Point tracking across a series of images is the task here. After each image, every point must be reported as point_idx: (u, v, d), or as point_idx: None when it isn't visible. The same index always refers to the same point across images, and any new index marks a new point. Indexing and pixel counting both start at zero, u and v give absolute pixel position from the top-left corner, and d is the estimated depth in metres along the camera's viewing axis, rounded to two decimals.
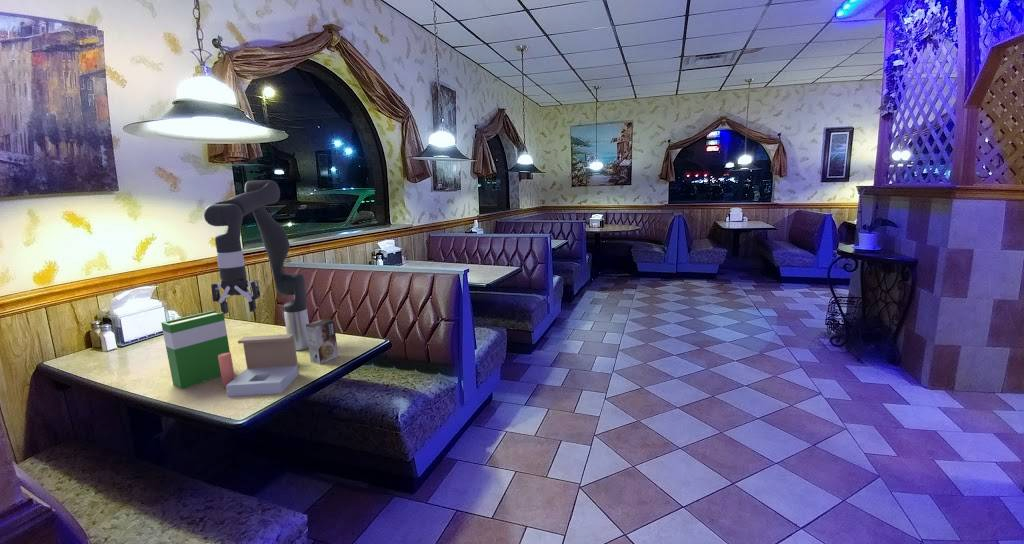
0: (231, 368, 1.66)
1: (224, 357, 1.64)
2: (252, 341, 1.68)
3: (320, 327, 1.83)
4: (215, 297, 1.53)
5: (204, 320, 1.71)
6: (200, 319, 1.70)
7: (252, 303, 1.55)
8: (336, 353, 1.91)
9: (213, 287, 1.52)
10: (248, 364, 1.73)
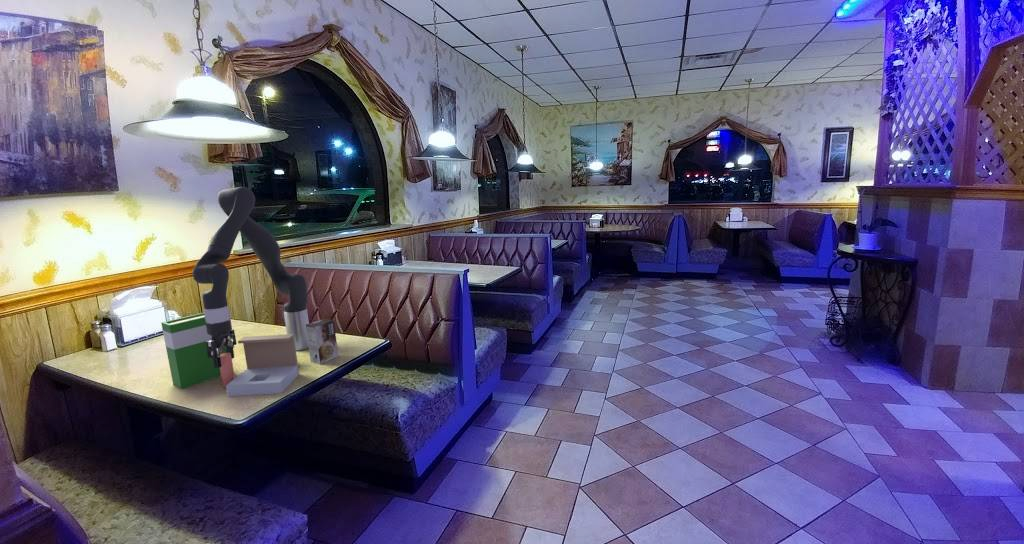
0: (231, 368, 1.66)
1: (224, 357, 1.64)
2: (252, 341, 1.68)
3: (320, 327, 1.83)
4: (215, 353, 1.59)
5: (204, 320, 1.71)
6: (200, 319, 1.70)
7: (232, 350, 1.70)
8: (336, 353, 1.91)
9: (214, 343, 1.58)
10: (248, 364, 1.73)
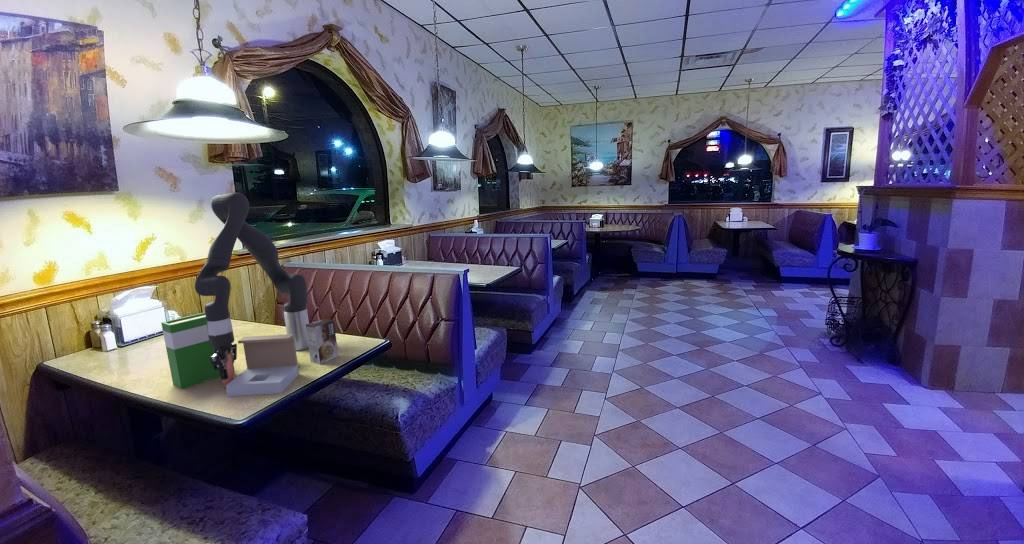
0: (231, 368, 1.66)
1: None
2: (252, 341, 1.68)
3: (320, 327, 1.83)
4: (221, 365, 1.61)
5: (204, 320, 1.71)
6: (200, 319, 1.70)
7: (233, 365, 1.69)
8: (336, 353, 1.91)
9: (218, 358, 1.59)
10: (248, 364, 1.73)
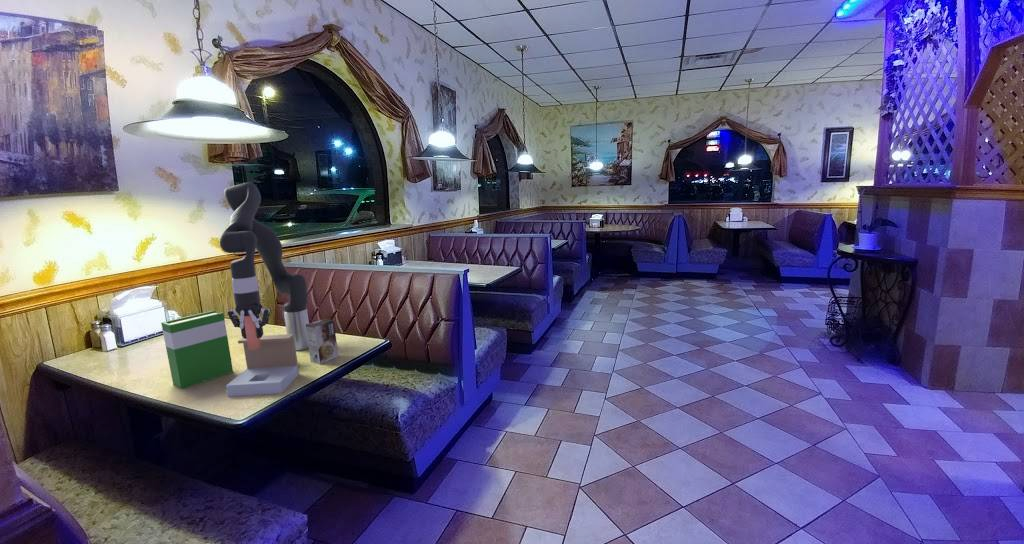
0: None
1: None
2: None
3: (320, 327, 1.83)
4: None
5: (204, 320, 1.71)
6: (200, 319, 1.70)
7: None
8: (336, 353, 1.91)
9: None
10: (248, 364, 1.73)
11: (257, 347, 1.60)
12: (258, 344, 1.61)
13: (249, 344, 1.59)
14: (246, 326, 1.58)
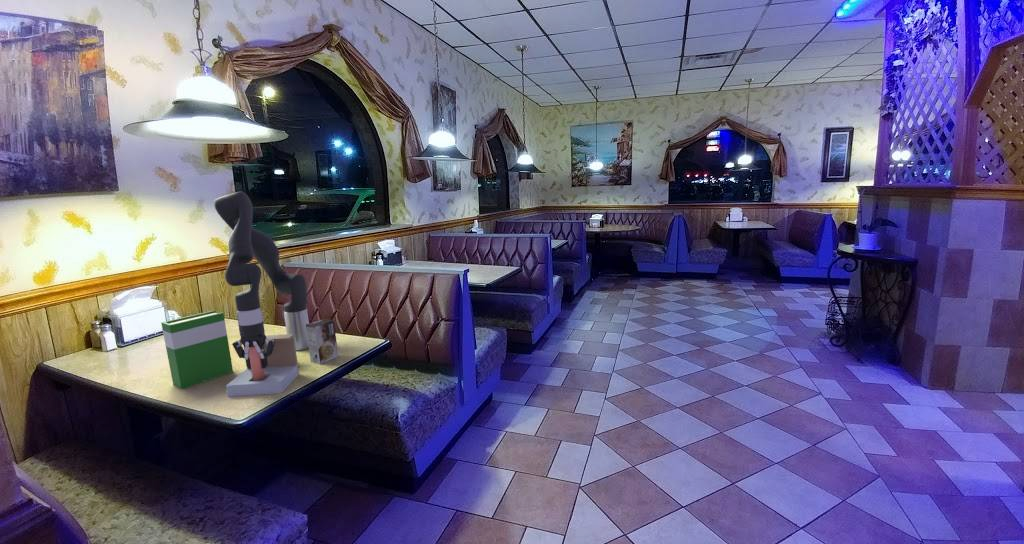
0: None
1: None
2: None
3: (320, 327, 1.83)
4: None
5: (204, 320, 1.71)
6: (200, 319, 1.70)
7: None
8: (336, 353, 1.91)
9: None
10: None
11: (261, 377, 1.62)
12: (262, 374, 1.63)
13: (254, 374, 1.61)
14: (251, 357, 1.60)
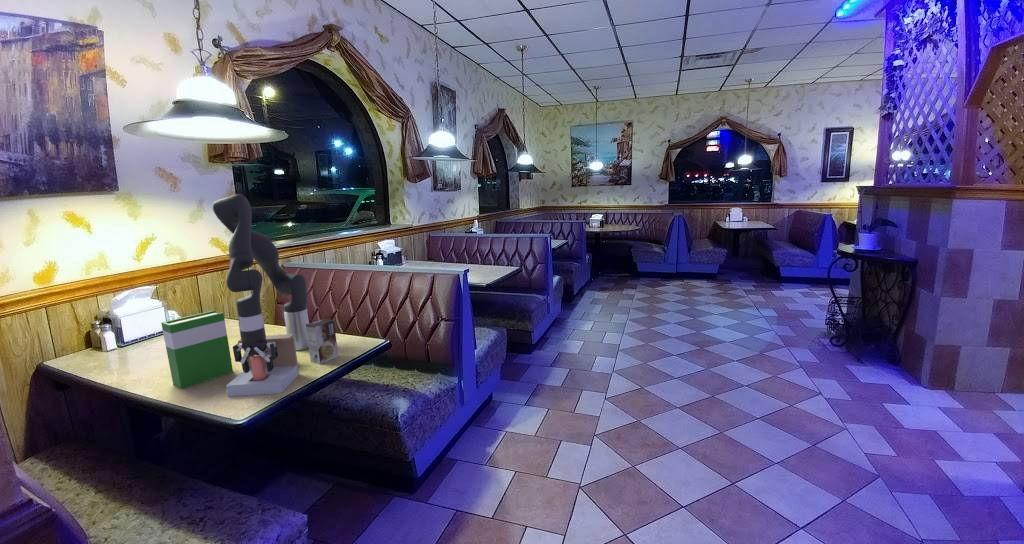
0: None
1: None
2: None
3: (320, 327, 1.83)
4: None
5: (204, 320, 1.71)
6: (200, 319, 1.70)
7: None
8: (336, 353, 1.91)
9: None
10: None
11: None
12: None
13: None
14: (253, 368, 1.61)
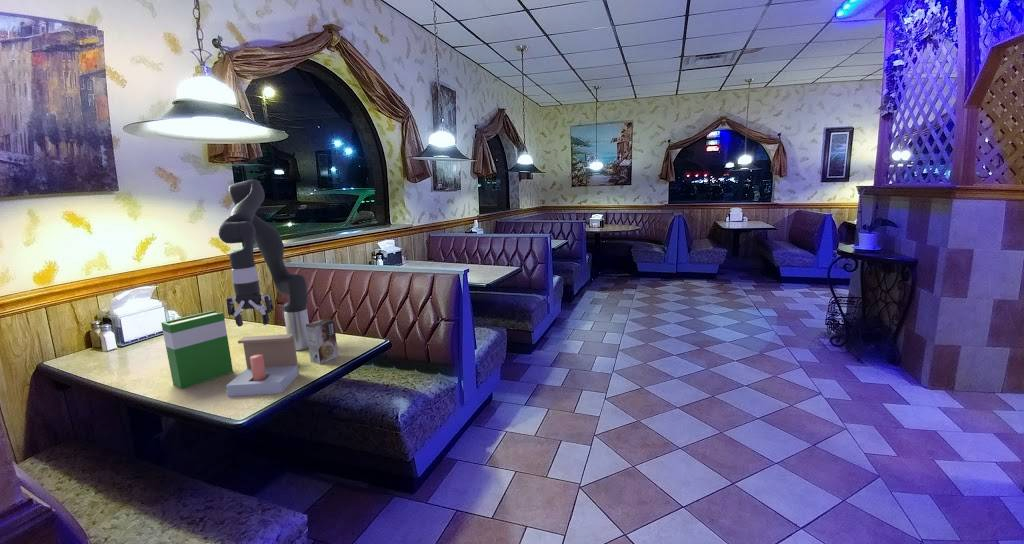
0: None
1: (262, 356, 1.63)
2: (252, 341, 1.68)
3: (320, 327, 1.83)
4: None
5: (204, 320, 1.71)
6: (200, 319, 1.70)
7: None
8: (336, 353, 1.91)
9: None
10: (248, 364, 1.73)
11: None
12: None
13: None
14: (253, 368, 1.61)
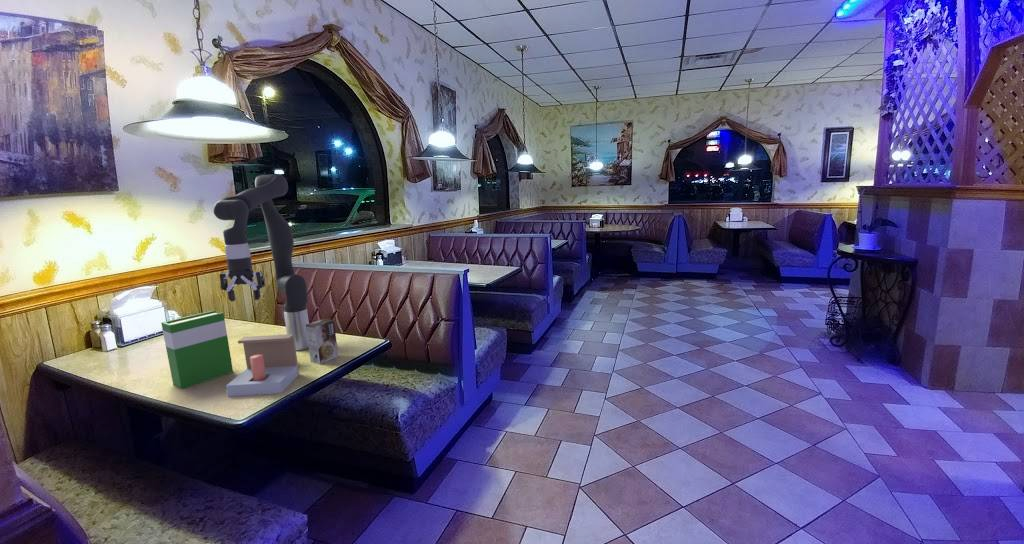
0: None
1: (262, 356, 1.63)
2: (252, 341, 1.68)
3: (320, 327, 1.83)
4: None
5: (204, 320, 1.71)
6: (200, 319, 1.70)
7: None
8: (336, 353, 1.91)
9: None
10: (248, 364, 1.73)
11: None
12: None
13: None
14: (253, 368, 1.61)
